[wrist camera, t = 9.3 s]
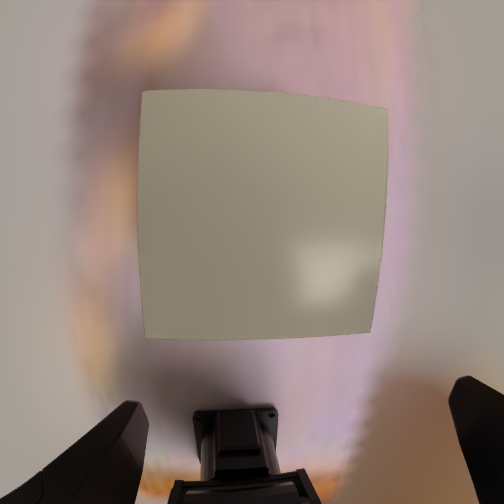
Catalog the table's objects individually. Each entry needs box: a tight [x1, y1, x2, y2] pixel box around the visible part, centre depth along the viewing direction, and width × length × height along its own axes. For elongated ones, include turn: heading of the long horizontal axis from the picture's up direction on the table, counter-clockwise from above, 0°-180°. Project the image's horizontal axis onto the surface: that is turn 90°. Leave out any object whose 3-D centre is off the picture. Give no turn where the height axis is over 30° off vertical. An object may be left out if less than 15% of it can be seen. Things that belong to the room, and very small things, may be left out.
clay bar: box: [137, 89, 388, 340], centre depth 11 cm, size 4×4×13 cm
